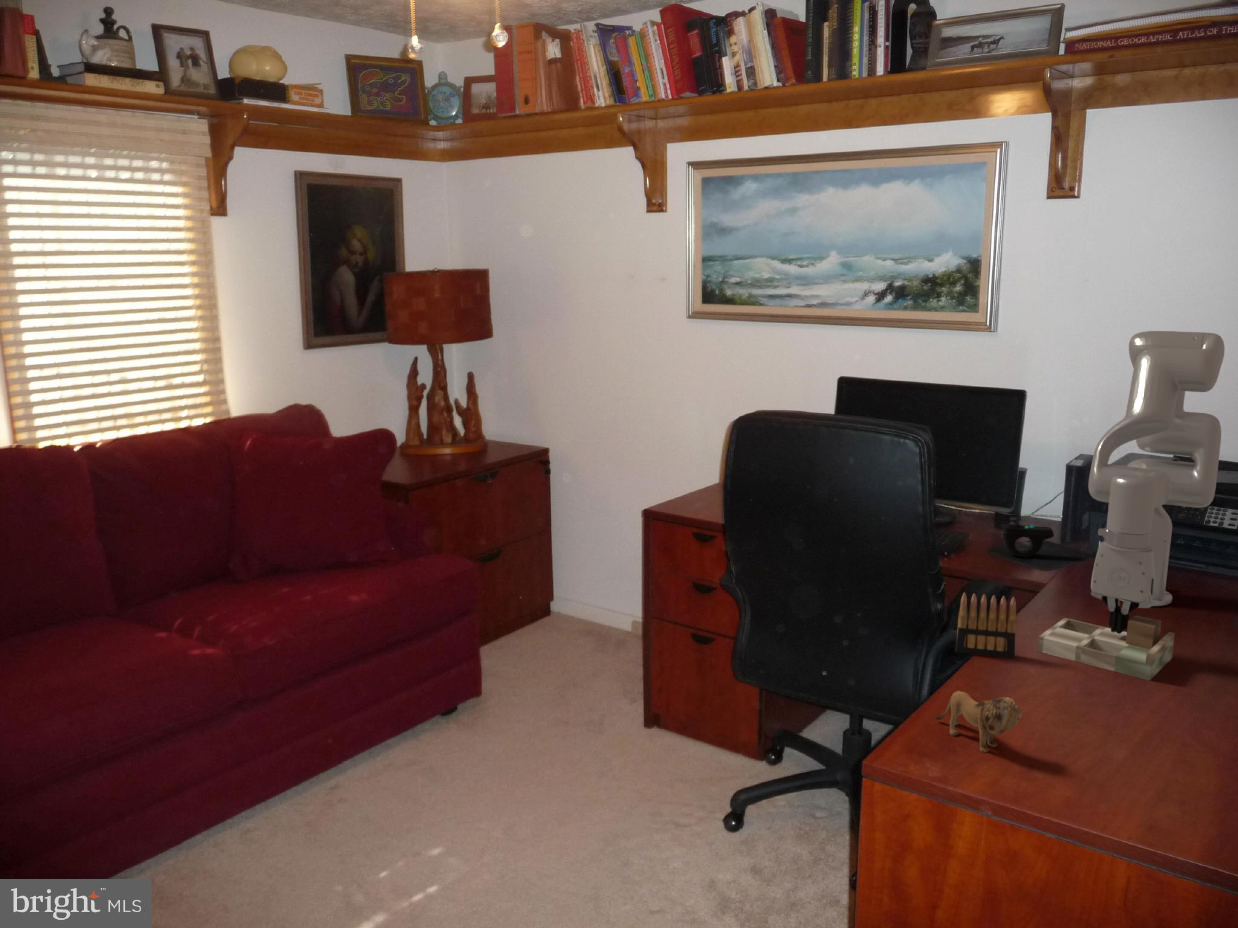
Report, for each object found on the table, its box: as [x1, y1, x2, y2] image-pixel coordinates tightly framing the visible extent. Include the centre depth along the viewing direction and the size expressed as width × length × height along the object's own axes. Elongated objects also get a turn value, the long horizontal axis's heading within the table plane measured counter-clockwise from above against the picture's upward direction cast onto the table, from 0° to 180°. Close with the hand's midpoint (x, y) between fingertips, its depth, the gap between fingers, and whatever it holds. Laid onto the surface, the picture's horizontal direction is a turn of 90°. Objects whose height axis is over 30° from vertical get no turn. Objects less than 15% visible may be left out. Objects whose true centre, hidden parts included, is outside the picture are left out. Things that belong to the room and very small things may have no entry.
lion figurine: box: [934, 690, 1023, 753], centre depth 153 cm, size 15×5×9 cm, turn 34°
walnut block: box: [1126, 614, 1162, 650], centre depth 183 cm, size 4×4×4 cm
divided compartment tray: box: [1036, 617, 1176, 682], centre depth 186 cm, size 14×20×5 cm
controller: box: [1000, 516, 1055, 558], centre depth 248 cm, size 4×12×10 cm, turn 76°
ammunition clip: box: [954, 592, 1017, 659], centre depth 186 cm, size 11×2×12 cm, turn 73°
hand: (1117, 630), depth 187 cm, fingers closed
